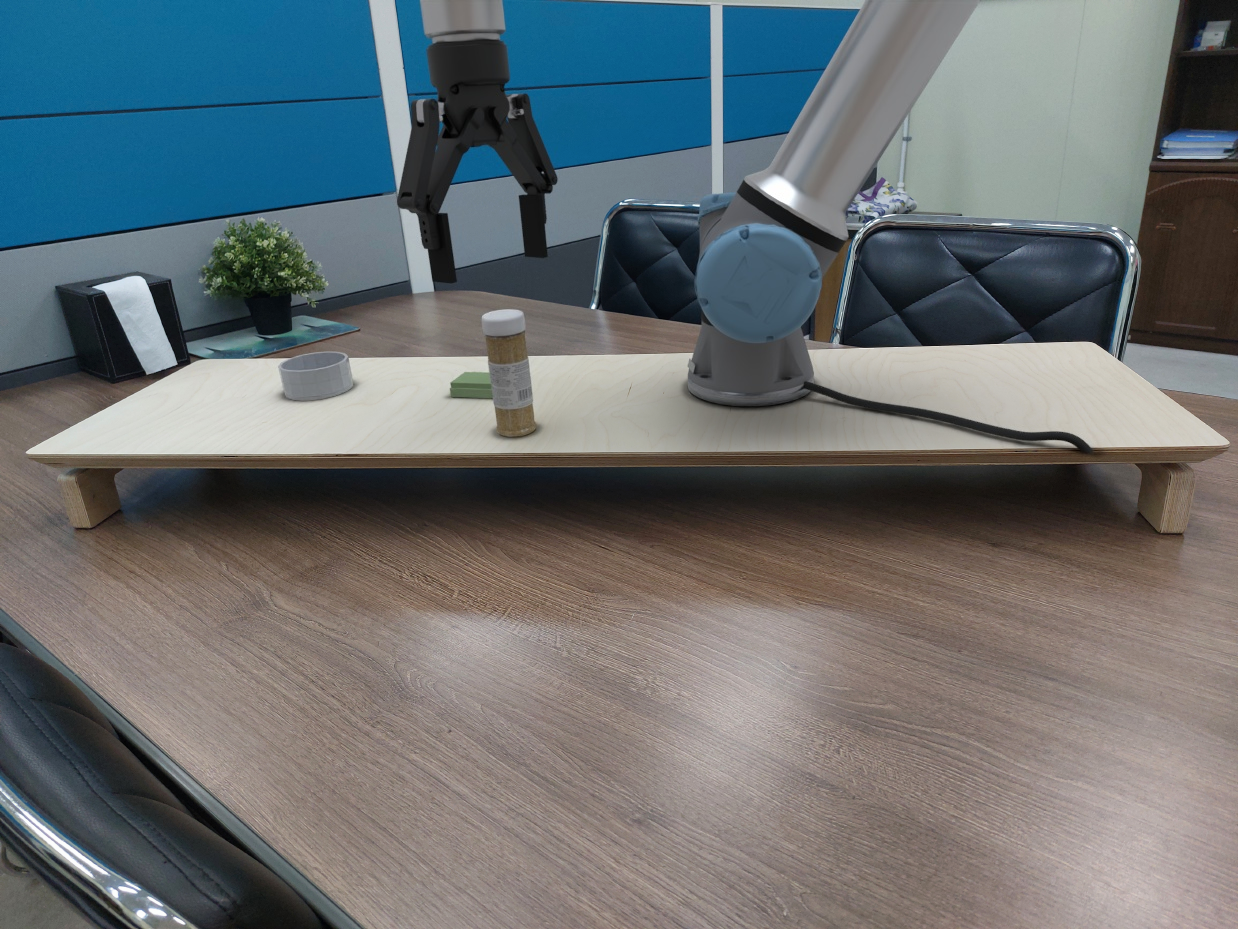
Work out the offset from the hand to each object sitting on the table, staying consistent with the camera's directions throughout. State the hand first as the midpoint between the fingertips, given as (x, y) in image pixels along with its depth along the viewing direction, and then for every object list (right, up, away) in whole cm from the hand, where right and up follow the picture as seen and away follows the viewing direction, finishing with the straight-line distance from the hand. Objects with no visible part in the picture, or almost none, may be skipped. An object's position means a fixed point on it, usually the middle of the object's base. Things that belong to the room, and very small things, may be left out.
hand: (493, 269), depth 87 cm
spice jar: (+2, -17, +7) cm, 18 cm away
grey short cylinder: (-27, -10, +26) cm, 39 cm away
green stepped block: (-4, -11, +20) cm, 24 cm away
